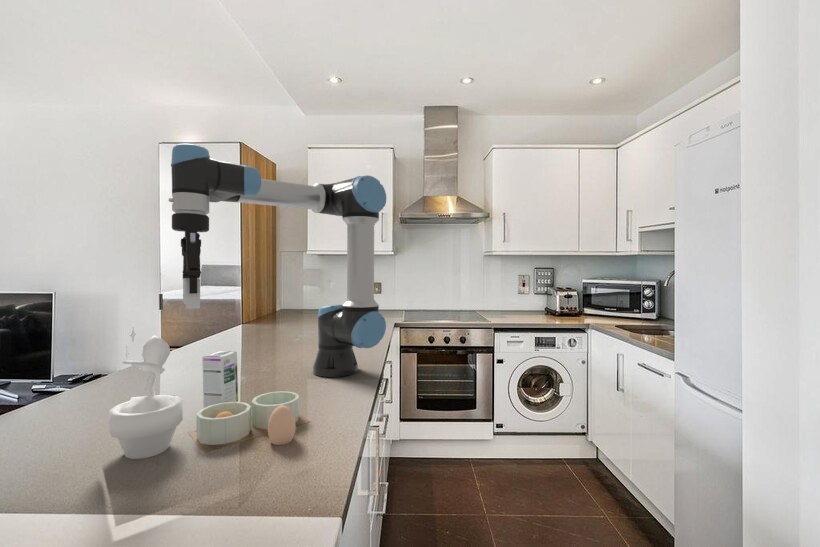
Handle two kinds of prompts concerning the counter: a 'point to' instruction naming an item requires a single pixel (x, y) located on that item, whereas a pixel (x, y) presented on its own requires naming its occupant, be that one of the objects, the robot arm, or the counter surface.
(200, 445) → the rack board
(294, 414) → the cup
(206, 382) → the syrup box
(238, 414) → the cup
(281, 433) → the egg
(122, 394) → the counter surface
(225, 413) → the rubber ball
